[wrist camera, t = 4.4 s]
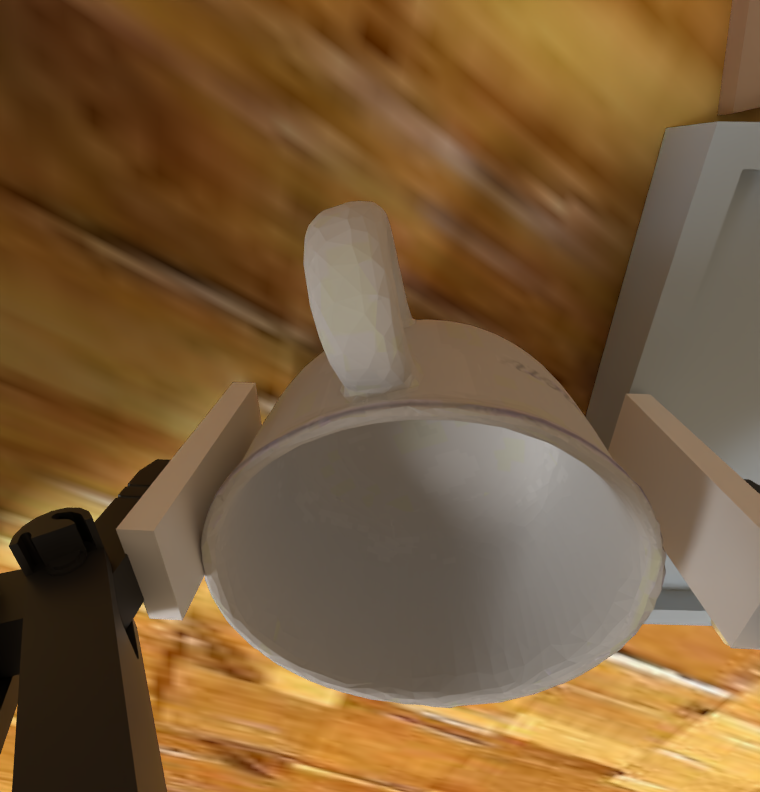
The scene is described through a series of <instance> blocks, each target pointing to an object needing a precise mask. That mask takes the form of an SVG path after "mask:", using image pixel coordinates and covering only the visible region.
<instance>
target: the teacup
mask: <svg viewBox="0 0 760 792" xmlns="http://www.w3.org/2000/svg"><path fill="white" fill-rule="evenodd" d="M303 264H304V271H305V277H306V283H307V290H308V296H309V302H310V308H311V311H312V315H313V318H314V322H315V325H316V329H317V332H318V336H319V339H320V341H321V344H322V346H323V349H324V351H323V352H322V353H321V354H320V355H318V356H317V357H316V358H315V359H313V360H312V361H311V362H310V363H309V364H307V365H306V366H305V367H304V368H303V369H302V370H301V372H300V373H299V374H298V375H297V376H296V377H295V379H294V380H293V381H292V382H291V383H290V384H289V386H288V387H287V388H286V389H285V391H284V392H283V393H282V395H281V396H280V398H279V399H278V401H277V403H276V404H275V406H274V407H273V409H272V410H271V412H270V414H269V415H268V417H267V418H266V420H265V422H264V423H263V425H262V426H261V428H260V430H259V431H258V433H257V435H256V437H255V438H254V440H253V442H252V444H251V445H250V447H249V449H248V451H247V453H246V454H245V456H244V458H243V460H242V462H241V463H240V464H239V465H238V466H237V467H236V468H235V469H234V470H233V471H232V472H231V474H230V475H229V476H228V477H227V478H226V480H225V481H224V483H223V484H222V486H221V487H220V488H219V490H218V491H217V493H216V494H215V496H214V499H213V501H212V503H211V506H210V508H209V511H208V514H207V517H206V520H205V524H204V528H203V532H202V541H201V550H202V560H203V567H204V574H205V581H206V583H207V586H208V588H209V591H210V593H211V596H212V598H213V599H214V601H215V603H216V604H217V606H218V608H219V609H220V611H221V613H222V614H223V615H224V617H225V618H226V620H227V621H228V623H229V624H230V625H231V626H232V627H233V628H234V629H235V630H236V631H237V632H238V633H239V634H240V635H241V636H242V637H243V638H244V639H245V640H246V641H247V642H248V643H249V644H250V645H252V646H253V647H254V648H255V649H257V650H259V651H260V652H261V653H262V654H263V655H265V656H266V657H268V658H269V659H271V660H272V661H273V662H275V663H276V664H278V665H280V666H282V667H283V668H285V669H287V670H289V671H291V672H293V673H295V674H297V675H299V676H301V677H303V678H305V679H307V680H309V681H312V682H314V683H317V684H320V685H322V686H325V687H327V688H331V689H334V690H337V691H340V692H343V693H347V694H351V695H355V696H359V697H363V698H368V699H372V700H380V701H390V702H396V703H402V704H417V705H425V706H431V707H445V708H452V707H455V706H464V705H475V704H487V703H498V702H504V701H508V700H512V699H516V698H520V697H524V696H528V695H532V694H536V693H538V692H541V691H544V690H547V689H550V688H552V687H554V686H557V685H560V684H563V683H565V682H567V681H570V680H572V679H574V678H576V677H578V676H580V675H582V674H583V673H585V672H587V671H589V670H590V669H592V668H594V667H596V666H597V665H598V664H600V663H601V662H602V661H604V660H605V659H607V658H608V657H610V656H612V655H613V654H614V653H616V652H617V651H618V650H620V649H621V648H622V647H623V646H624V645H625V643H627V642H628V641H629V640H630V639H631V638H632V637H633V636H634V635H635V634H636V633H637V632H638V630H639V628H640V627H641V625H642V624H643V623H644V622H645V621H646V620H647V619H648V617H649V615H650V614H651V612H652V611H653V609H654V607H655V604H656V600H657V598H658V596H659V594H660V592H661V589H662V586H663V582H664V578H665V574H666V569H665V561H666V556H667V555H666V552H665V550H664V548H663V537H662V534H661V531H660V524H659V522H658V520H657V519H656V517H655V512H654V510H653V508H652V506H651V504H650V502H649V500H648V499H647V497H646V495H645V493H644V492H643V490H642V488H641V487H640V486H639V485H638V484H637V483H636V482H635V481H634V480H632V479H631V478H630V476H629V475H628V474H627V472H626V471H625V470H624V469H623V468H622V467H621V466H620V465H619V464H618V463H616V462H615V461H614V460H613V459H612V457H611V455H610V454H609V452H608V451H607V449H606V447H605V446H604V444H603V443H602V441H601V440H600V438H599V436H598V435H597V433H596V432H595V430H594V429H593V427H592V426H591V424H590V423H589V421H588V420H587V419H586V417H585V416H584V414H583V413H582V412H581V410H580V409H579V407H578V406H577V405H576V403H575V402H574V400H573V399H572V398H571V397H570V395H569V394H568V393H567V392H566V390H565V389H564V388H563V386H562V385H561V384H560V383H559V382H558V381H557V380H556V379H555V378H554V377H553V376H552V375H551V373H550V372H549V371H548V370H547V369H546V368H545V367H544V366H543V365H542V364H541V363H539V362H538V361H537V360H536V359H534V358H533V357H532V356H531V355H530V354H528V353H527V352H525V351H524V350H523V349H521V348H520V347H518V346H516V345H515V344H513V343H512V342H510V341H508V340H506V339H504V338H502V337H500V336H498V335H496V334H494V333H491V332H489V331H486V330H484V329H481V328H478V327H475V326H471V325H468V324H463V323H458V322H452V321H443V320H430V319H421V320H415V319H413V318H412V316H411V313H410V309H409V306H408V303H407V299H406V294H405V290H404V285H403V281H402V276H401V272H400V267H399V263H398V258H397V253H396V248H395V243H394V239H393V234H392V230H391V226H390V223H389V220H388V217H387V214H386V212H385V211H384V210H383V209H382V208H381V207H380V206H379V205H377V204H376V203H374V202H368V201H353V202H347V203H344V204H341V205H338V206H335V207H332V208H329V209H326V210H323V211H322V212H321V213H319V214H318V215H317V216H316V217H315V219H314V220H313V221H312V222H311V223H310V224H309V226H308V229H307V232H306V235H305V242H304V263H303Z"/></svg>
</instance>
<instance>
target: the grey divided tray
mask: <svg viewBox="0 0 760 792" xmlns="http://www.w3.org/2000/svg"><path fill="white" fill-rule="evenodd" d="M626 394H650V395H652V396H653V397H654V398H655V399H656V400H657V401H658V402H659V403H660V404H661V405H663V406H664V407H665V408H666V409H667V410H668V411H669V412H670V413H671V414H672V415H673V416H675V417H676V418H677V419H678V420H679V421H680V422H681V423H682V424H683V425H684V426H686V427H687V428H688V429H689V430H690V431H691V432H692V433H693V434H694V435H695V436H696V437H698V438H699V439H700V440H701V441H702V442H703V443H704V444H705V445H706V446H707V447H709V448H710V449H711V450H712V451H713V452H714V453H715V454H716V455H717V456H718V457H720V458H721V459H722V460H723V461H724V462H725V463H726V464H727V465H728V466H729V467H730V468H732V469H733V470H734V471H735V472H736V473H737V474H738V475H739V476H740V477H741V478H743V479H749V480H751V481H753V482H755V483H756V484H758V485H760V122H721V121H718V122H710V123H702V124H694V125H687V126H679V127H671V128H666V130H665V134H664V138H663V141H662V145H661V148H660V152H659V155H658V159H657V163H656V166H655V170H654V173H653V177H652V180H651V184H650V188H649V191H648V195H647V198H646V202H645V205H644V209H643V213H642V216H641V220H640V223H639V227H638V231H637V234H636V238H635V241H634V245H633V248H632V252H631V256H630V259H629V263H628V266H627V270H626V273H625V277H624V281H623V284H622V288H621V291H620V295H619V298H618V302H617V306H616V309H615V313H614V316H613V320H612V324H611V327H610V331H609V334H608V338H607V341H606V345H605V349H604V352H603V356H602V359H601V363H600V366H599V370H598V374H597V377H596V381H595V384H594V388H593V391H592V395H591V399H590V402H589V406H588V409H587V413H586V419H587V420H588V421H589V423H590V424H591V426H592V427H593V429H594V430H595V432H596V433H597V435H598V436H599V438H600V440H601V441H602V443H603V444H604V446H605V447H606V449H607V451H608V449H609V446H610V443H611V440H612V436H613V433H614V430H615V427H616V424H617V420H618V417H619V414H620V411H621V408H622V404H623V401H624V398H625V395H626ZM666 555H667V554H666ZM665 569H666V574H665V578H664V582H663V586H662V589H661V592H660V594H659V596H658V598H657V600H656V604H655V607H654V609H653V611H652V612H651V614H650V615H649V617H648V619H647V620H646V621H645V622H644V623H643V624H668V625H704V626H713V628H714V629H715V631H716V632H717V633H718V635H719V636H720V638H721V639H722V641H723V642H724V643H725V644H726V645H728V646H729V644H728V643H727V641H726V640H725V638H724V637H723V635H722V634H721V632H720V631H719V629H718V628H717V627H716V625H715V624H714V622H713V621H712V619H711V618H710V616H709V615H708V613H707V612H706V611H705V609H704V608H703V606H702V605H701V603H700V602H699V600H698V599H697V597H696V596H695V594H694V593H693V592H692V590H691V589H690V587H689V586H688V584H687V583H686V581H685V580H684V578H683V577H682V575H681V574H680V573H679V571H678V570H677V568H676V567H675V565H674V564H673V562H672V561H671V559H670V558H669V556H668V555H667V556H666V561H665Z"/></svg>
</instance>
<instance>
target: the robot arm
mask: <svg viewBox="0 0 760 792" xmlns="http://www.w3.org/2000/svg"><path fill="white" fill-rule="evenodd" d="M261 426H262V424H261V417H260V410H259V403H258V396H257V389H256V383H247V382H233V383H232V384H231V385H230V386H229V388H228V389H227V390H226V391H225V393H224V394H223V395H222V397H221V398H220V399H219V400H218V402H217V403H216V404H215V405H214V407H213V408H212V409H211V410H210V412H209V413H208V414H207V415H206V417H205V418H204V419H203V420H202V422H201V423H200V424H199V425H198V427H197V428H196V429H195V430H194V432H193V433H192V434H191V435H190V437H189V438H188V439H187V440H186V442H185V443H184V444H183V445H182V447H181V448H180V449H179V450H178V452H177V453H176V454H175V455H174V457H173V458H172V459H171V460H163V459H157V460H155V461H154V462H152V463H151V464H149V465H148V466H146V467H144V468H143V469H141V470H140V471H139V472H138V473H137V474H136V475H135V476H134V478H133V479H132V480H131V481H130V482H129V483H128V487H125V488H124V489H123V490H122V491H121V493H120V494H119V495H118V498H115V499H114V501H113V502H112V503H111V504H110V505H109V506H108V507H107V509H106V510H105V511H104V512H103V513H102V514H101V515H100V517H99V518H98V519H97V520H96V521H95V522H94V521H93V518H92V516H91V515H90V513H89V511H87V510H84V509H82V508H63V509H59V510H55V511H51V512H49V513H46V514H44V515H41V516H39V517H37V518H35V519H34V520H32V521H30V522H29V523H27V524H26V525H24V526H23V527H22V528H21V529H20V530H19V531H18V532H17V533H16V534H15V535H14V536H13V538H12V540H11V542H10V545H9V547H10V549H11V551H12V553H13V555H14V556H15V558H16V560H17V562H18V564H19V565H20V567H21V570H16V571H11V572H6V573H1V574H0V754H1V751H2V748H3V745H4V742H5V739H6V736H7V733H8V730H9V727H10V724H11V721H12V718H13V716H14V713H15V710H16V707H17V704H18V707H17V722H16V738H15V754H14V770H13V785H12V792H167V789H166V784H165V778H164V773H163V767H162V762H161V756H160V751H159V745H158V740H157V735H156V729H155V724H154V718H153V713H152V707H151V702H150V696H149V691H148V686H147V680H146V675H145V669H144V664H143V658H142V653H141V647H140V642H139V637H138V631H137V627H136V624H135V622H134V619H133V618H134V616H135V615H136V613H137V611H138V610H139V608H140V606H141V605H142V603H143V602H144V605H145V608H146V610H147V613H148V616H149V618H151V619H170V620H183V618H184V616H185V614H186V612H187V610H188V608H189V606H190V604H191V602H192V600H193V598H194V596H195V594H196V592H197V589H198V587H199V585H200V583H201V581H202V579H203V577H204V575H205V574H204V567H203V560H202V550H201V541H202V532H203V528H204V524H205V520H206V517H207V514H208V511H209V508H210V506H211V503H212V501H213V499H214V496H215V494H216V493H217V491H218V490H219V488H220V487H221V486H222V484H223V483H224V481H225V480H226V478H227V477H228V476H229V475H230V474H231V472H232V471H233V470H234V469H235V468H236V467H237V466H238V465H239V464H240V463H241V462H242V460H243V458H244V456H245V454H246V453H247V451H248V449H249V447H250V445H251V444H252V442H253V440H254V438H255V437H256V435H257V433H258V431H259V430H260V428H261ZM608 452H609V454H610V455H611V457H612V459H613V460H614V461H615V462H616V463H618V464H619V465H620V466H621V467H622V468H623V469H624V470H625V471H626V472H627V474H628V475H629V476H630V478H631V479H632V480H634V481H635V482H636V483H637V484H638V485H639V486H640V487H641V488H642V490H643V492H644V493H645V495H646V497H647V499H648V500H649V502H650V504H651V506H652V508H653V510H654V512H655V517H656V519H657V520H658V522H659V524H660V531H661V534H662V537H663V548H664V550H665V552H666V554H667V555H668V556H669V558H670V559H671V561H672V562H673V564H674V565H675V567H676V568H677V570H678V571H679V573H680V574H681V575H682V577H683V578H684V580H685V581H686V583H687V584H688V586H689V587H690V589H691V590H692V592H693V593H694V594H695V596H696V597H697V599H698V600H699V602H700V603H701V605H702V606H703V608H704V609H705V611H706V612H707V613H708V615H709V616H710V618H711V619H712V621H713V622H714V624H715V625H716V627H717V628H718V629H719V631H720V632H721V634H722V635H723V637H724V638H725V640H726V641H727V643H728V644H729V646H730V647H731V648H741V649H760V485H758V484H756V483H755V482H753V481H751V480H749V479H743V478H741V477H740V476H739V475H738V474H737V473H736V472H735V471H734V470H733V469H732V468H730V467H729V466H728V465H727V464H726V463H725V462H724V461H723V460H722V459H721V458H720V457H718V456H717V455H716V454H715V453H714V452H713V451H712V450H711V449H710V448H709V447H707V446H706V445H705V444H704V443H703V442H702V441H701V440H700V439H699V438H698V437H696V436H695V435H694V434H693V433H692V432H691V431H690V430H689V429H688V428H687V427H686V426H684V425H683V424H682V423H681V422H680V421H679V420H678V419H677V418H676V417H675V416H673V415H672V414H671V413H670V412H669V411H668V410H667V409H666V408H665V407H664V406H663V405H661V404H660V403H659V402H658V401H657V400H656V399H655V398H654V397H653V396H652V395H650V394H626V395H625V398H624V401H623V404H622V408H621V411H620V414H619V417H618V420H617V424H616V427H615V430H614V433H613V436H612V440H611V443H610V446H609V449H608Z"/></svg>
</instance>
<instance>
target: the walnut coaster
mask: <svg viewBox="0 0 760 792" xmlns="http://www.w3.org/2000/svg"><path fill="white" fill-rule="evenodd" d="M759 107H760V0H733V1H732V8H731V16H730V23H729V31H728V38H727V46H726V54H725V61H724V69H723V76H722V84H721V91H720V99H719V106H718V114H717V116H718V115H725V114H733V113H737V112H741V111H746V110H750V109H754V108H759Z"/></svg>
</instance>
